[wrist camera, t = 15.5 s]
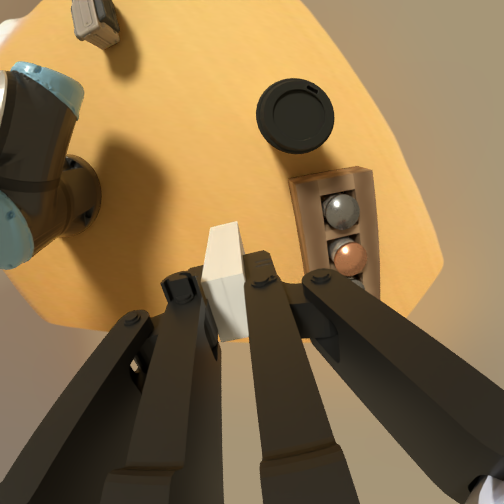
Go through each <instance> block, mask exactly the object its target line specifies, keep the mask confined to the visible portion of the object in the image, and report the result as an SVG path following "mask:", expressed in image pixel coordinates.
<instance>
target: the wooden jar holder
mask: <svg viewBox="0 0 504 504" xmlns="http://www.w3.org/2000/svg"><path fill="white" fill-rule="evenodd" d="M288 183H289V188H290V193H291V198H292V204H293V209H294V215H295V220H296V226H297V232H298V237H299V243H300V249H301V255H302V262H303V268H304V274H306V273H308V272H310V271H313V270H316V269H319V268H321V269H322V268H327V269H333V270H335V271H338V270H337V269H336V267H335V265H334V262H333V261H332V260H331V258H330V257H328V249H327V240H331V239H335V238H339V237H344V236H349V237H350V238H351V239H352V240H353V241H354V242H357V243H359V244H360V245H362V246H363V247H364V248H365V250H366V252H367V262H366V265H365V267H364V268H363V269H362V270H361V271H360V272H359V273H357V274H355V275H353V276H354V277H355V278H356V279H358V280H359V281H361V283H362V284H363V285H364V287H365V290H366V291H367V292H369V293H370V294H372V295H373V296H374V297H376V298H377V299H379V300H380V258H379V237H378V222H377V210H376V199H375V189H374V180H373V172H372V170H370V169H366V168H363V167H359V166H355V167H349V168H343V169H338V170H332V171H327V172H321V173H316V174H311V175H306V176H301V177H296V178H291V179H288ZM341 191H343V194H347V195H349V196H351V197H353V198H354V199H355V200H356V201H357V203H358V205H359V208H360V214H359V218H358V220H357V222H356V223H355V224H354V225H353V226H352V227H350V228H348V229H345V230H339V229H336V228H334V227H332V226H331V225H330V224H329V223H328V221H327V219H325V220H324V219H323V212H322V205H321V199H320V196H321V195H326V194H331V193H336V192H341ZM344 276H345V275H344ZM345 277H347V276H345Z"/></svg>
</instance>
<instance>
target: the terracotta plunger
mask: <svg viewBox="0 0 504 504" xmlns="http://www.w3.org/2000/svg"><path fill="white" fill-rule="evenodd" d="M327 249H328V256H329V257H330V258H331V260H332V261H333V262H334V265H335V267H336V269H337V270H338V272H339V273H341V274H342V275H345V276H353V275H355V274H357V273H359V272H360V271H361V270H362V269H363V268H364V267H365V265H366V262H367V252H366V250H365V248H364V247H363V246H362V245H360V244H359V243H357V242H354V241H353V240H352V239H351V238H350V237H349V236H344V237H339V238H335V239H331V240H327Z"/></svg>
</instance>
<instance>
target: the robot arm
mask: <svg viewBox="0 0 504 504" xmlns="http://www.w3.org/2000/svg"><path fill="white" fill-rule="evenodd" d="M83 98H84V90H83V87H82V86H81V84H80V83H79V82H77V81H76V80H74V79H72V78H70V77H68V76H66V75H64V74H62V73H59V72H57V71H54V70H52V69H49V68H46V67H41V66H38V65H36V64H33V63H28V62H16V63H15V65H14V66H13V67H12V68H11V71H4V70H0V269H5V270H9V269H13V268H16V267H17V266H19V265H20V264H22V263H25V262H26V261H29V260H30V259H31V257H33V256H34V255H35V254H36V253H38V252H39V251H40V250H42V249H43V248H44V247H45V246H47V245H48V244H49V243H51V242H52V241H53V240H55V239H56V238H58V237H71V236H75V235H77V234H79V233H81V232H82V231H84V230H85V229H86V228H88V227H89V226H90V225H91V224H92V223H93V221H94V220H95V218H96V216H97V214H98V212H99V208H100V204H101V188H100V183H99V180H98V177H97V175H96V173H95V171H94V170H93V168H92V167H91V166H90V165H89V164H88V163H87V162H86V161H85V160H84V159H82V158H80V157H78V156H75V155H69V154H67V150H68V146H69V143H70V139H71V136H72V133H73V129H74V126H75V123H76V121H78V119H79V111H80V108H81V104H82V101H83ZM160 284H161V286H162V289H163V292H164V294H165V297H166V299H167V302H168V304H167V307H166V311H165V313H163V314H160V315H158V316H155V317H152V318H150V316H149V314H148V312H147V311H145V310H136V311H135V310H134V311H131V312H128V313H127V314H126V315H124V316H123V317H122V318H121V319H119V320H118V322H117V323H116V324H115V325H114V327H113V328H112V329H111V330H110V332H109V333H108V334H107V336H105V338H104V339H103V340H102V342H101V343H100V344H99V345H98V347H97V348H96V349H95V350H94V352H93V353H92V354H91V356H90V357H89V358H88V359H87V361H86V362H85V363H84V365H83V366H82V367H81V368H80V370H79V371H78V372H77V374H76V375H75V376H74V378H73V379H72V380H71V382H70V383H69V384H68V386H67V387H66V389H65V390H64V391H63V393H62V394H61V395H60V397H59V398H58V399H57V401H56V402H55V404H54V405H53V406H52V408H51V409H50V410H49V412H48V413H47V415H46V416H45V418H44V419H43V420H42V422H41V423H40V425H39V426H38V428H37V429H36V431H35V432H34V433H33V435H32V436H31V438H30V439H29V441H28V443H27V444H26V445H25V447H24V448H23V450H22V451H21V453H20V455H19V456H18V458H17V459H16V461H15V462H14V464H13V465H12V467H11V469H10V470H9V472H8V474H7V475H6V477H5V478H4V480H3V481H2V482H1V483H0V504H224V496H223V495H224V493H223V464H222V463H223V462H222V414H221V413H222V412H221V411H222V410H221V348H220V345H219V342H218V334H219V337H220V340H221V342H226V341H231V340H235V339H240V338H245V337H249V343H250V352H251V361H252V370H253V379H254V388H255V397H256V404H257V414H258V422H259V431H260V439H261V447H262V457H263V458H262V461H261V463H260V480H261V488H262V496H263V504H360V503H359V500H358V496H357V493H356V490H355V487H354V484H353V481H352V478H351V474H350V471H349V468H348V465H347V462H346V459H345V457H344V454H343V451H342V449H341V447H340V445H338V444H336V442H335V439H334V436H333V434H332V430H331V427H330V424H329V421H328V418H327V415H326V412H325V409H324V406H323V403H322V400H321V397H320V394H319V391H318V387H317V384H316V382H315V379H314V376H313V373H312V370H311V367H310V364H309V361H308V358H307V355H306V352H305V349H304V346H303V343H302V340H301V339H302V338H310V340H311V342H312V344H313V345H314V346H315V348H316V349H317V350H318V351H319V352H320V353H321V355H322V356H323V357H324V358H325V359H326V361H327V362H328V363H329V364H330V365H331V366H332V367H333V369H334V370H335V371H336V372H337V373H338V374H339V376H340V377H341V378H342V379H343V380H344V382H345V383H346V384H347V385H348V386H349V387H350V388H351V390H352V391H353V392H354V393H355V394H356V395H357V397H359V399H360V400H361V401H362V402H363V403H364V405H365V406H366V407H367V408H368V409H369V410H370V411H371V413H372V414H373V415H374V416H375V417H376V418H377V419H378V420H379V422H380V423H381V424H382V425H383V426H384V427H385V429H386V430H387V431H388V432H389V433H390V434H391V435H392V436H393V438H394V439H395V440H396V441H397V442H398V443H399V444H400V446H401V447H402V448H403V449H404V450H405V451H406V452H407V453H408V455H410V457H411V458H412V459H413V460H414V461H415V462H416V463H417V465H418V466H419V467H420V468H421V469H422V470H423V471H424V472H425V474H426V475H427V476H428V477H429V478H430V479H431V480H432V481H433V482H434V483H435V484H436V485H437V486H438V487H439V488H440V489H441V490H442V491H443V492H444V493H445V494H447V495H448V496H449V497H451V498H452V499H454V500H455V501H456V502H458V503H460V504H504V390H503V389H501V388H500V387H499V386H498V385H496V384H495V383H494V382H492V381H491V380H490V379H488V378H487V377H486V376H484V375H483V374H482V373H480V372H479V371H478V370H476V369H475V368H474V367H472V366H471V365H470V364H468V363H467V362H466V361H464V360H463V359H462V358H460V357H459V356H458V355H456V354H455V353H453V352H452V351H451V350H449V349H448V348H446V347H445V346H444V345H442V344H441V343H440V342H438V341H437V340H435V339H434V338H433V337H431V336H430V335H429V334H427V333H426V332H424V331H423V330H422V329H420V328H419V327H417V326H416V325H415V324H413V323H412V322H410V321H409V320H407V319H406V318H405V317H403V316H402V315H400V314H399V313H398V312H396V311H395V310H393V309H392V308H390V307H389V306H387V305H386V304H385V303H383V302H382V301H380V300H379V299H377V298H376V297H374V296H373V295H372V294H370V293H369V292H367V291H366V290H364V289H363V288H361V287H360V286H358V285H357V284H355V283H354V282H352V281H351V280H349V279H348V278H347V277H345V276H344V275H342V274H341V273H339V272H338V271H335V270H333V269H327V268H322V269H321V268H319V269H316V270H313V271H310V272H308V273H306V274H305V275H304V276H303V278H302V283H300V284H290V283H285V282H282V281H281V279H280V277H279V276H278V275H277V273H276V270H275V268H274V265H273V262H272V259H271V256H270V253H268V252H266V251H264V250H263V251H258V252H254V253H250V254H245V252H244V248H243V244H242V239H241V235H240V231H239V227H238V223H237V221H235V222H231V223H227V224H223V225H219V226H215V227H210V233H209V238H208V244H207V249H206V255H205V261H204V265H201V266H197V267H193V268H190V269H189V270H188V271H181V272H177V273H174V274H172V275H170V276H168V277H166V278H165V279H164V280H163V281H162V282H161V283H160ZM133 359H134V361H135V362H136V364H137V366H138V369H137V370H136V371H135V372H134V371H133V370H132V368H131V366H130V364H131V362H132V361H133Z"/></svg>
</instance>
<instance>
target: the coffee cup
mask: <svg viewBox="0 0 504 504" xmlns="http://www.w3.org/2000/svg"><path fill="white" fill-rule="evenodd" d="M256 120H257V124H258V128H259V130H260V132H261V134H262V135H263V137H264V138H265V139H266V141H267V142H268V143H270V144H271V145H272V146H273V147H275V148H276V149H278V150H280V151H283V152H286V153H291V154H303V153H308V152H311V151H313V150H315V149H317V148H318V147H320V146H321V145H322V144H323V143H324V142H325V141H326V140H327V139H328V137H329V136H330V134H331V132H332V129H333V125H334V110H333V106H332V104H331V101H330V99H329V98H328V96H327V95H326V93H325V92H324V91H323V90H322V89H321V88H320V87H318V86H317V85H315V84H314V83H312V82H309V81H307V80H303V79H297V78H290V79H284V80H280V81H278V82H275V83H274V84H272V85H271V86H269V87H268V88H267V89H266V90H265V91H264V92H263V94H262V95H261V97H260V99H259V102H258V104H257V109H256Z"/></svg>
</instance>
